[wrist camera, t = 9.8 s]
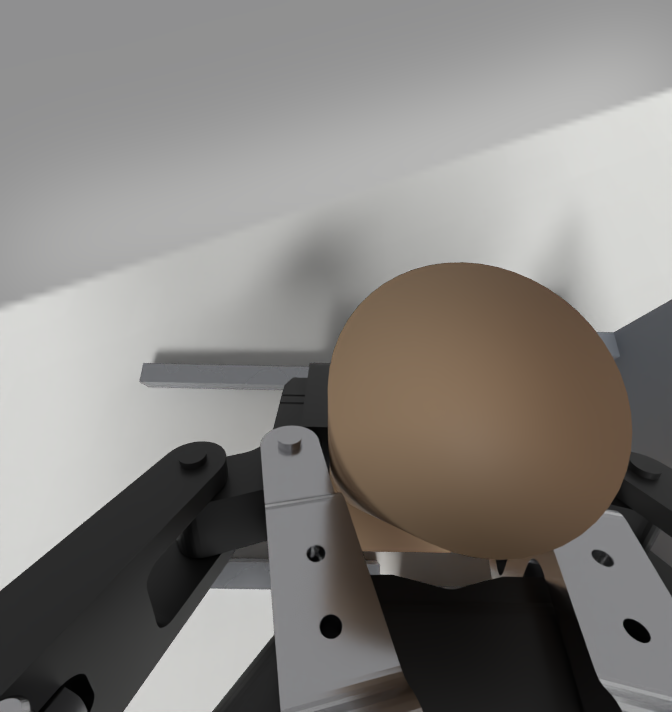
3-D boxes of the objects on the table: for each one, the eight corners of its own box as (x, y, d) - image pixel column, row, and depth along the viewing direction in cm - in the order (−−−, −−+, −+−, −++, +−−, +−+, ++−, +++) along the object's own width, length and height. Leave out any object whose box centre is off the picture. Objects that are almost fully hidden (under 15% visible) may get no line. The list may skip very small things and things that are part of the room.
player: (311, 536, 17) (242, 705, 3) (316, 407, 19) (285, 188, 5) (419, 537, 17) (786, 712, 3) (412, 409, 19) (621, 197, 6)
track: (109, 581, 17) (96, 586, 16) (152, 369, 20) (143, 363, 19) (377, 585, 17) (380, 590, 16) (373, 374, 20) (375, 368, 19)
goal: (400, 617, 16) (461, 721, 9) (390, 354, 21) (425, 274, 13) (652, 621, 16) (922, 726, 9) (590, 358, 21) (737, 281, 13)
